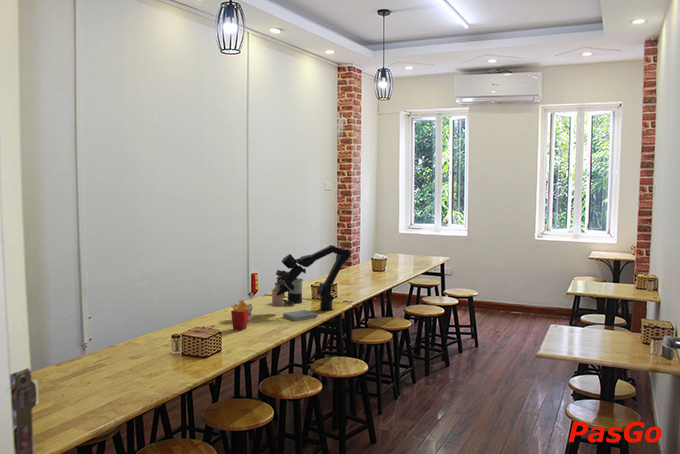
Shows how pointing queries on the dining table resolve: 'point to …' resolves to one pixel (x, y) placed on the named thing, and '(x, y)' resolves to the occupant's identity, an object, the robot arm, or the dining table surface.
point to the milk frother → (295, 293)
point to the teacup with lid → (246, 308)
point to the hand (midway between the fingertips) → (275, 294)
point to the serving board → (300, 315)
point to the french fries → (240, 316)
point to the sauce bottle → (277, 299)
